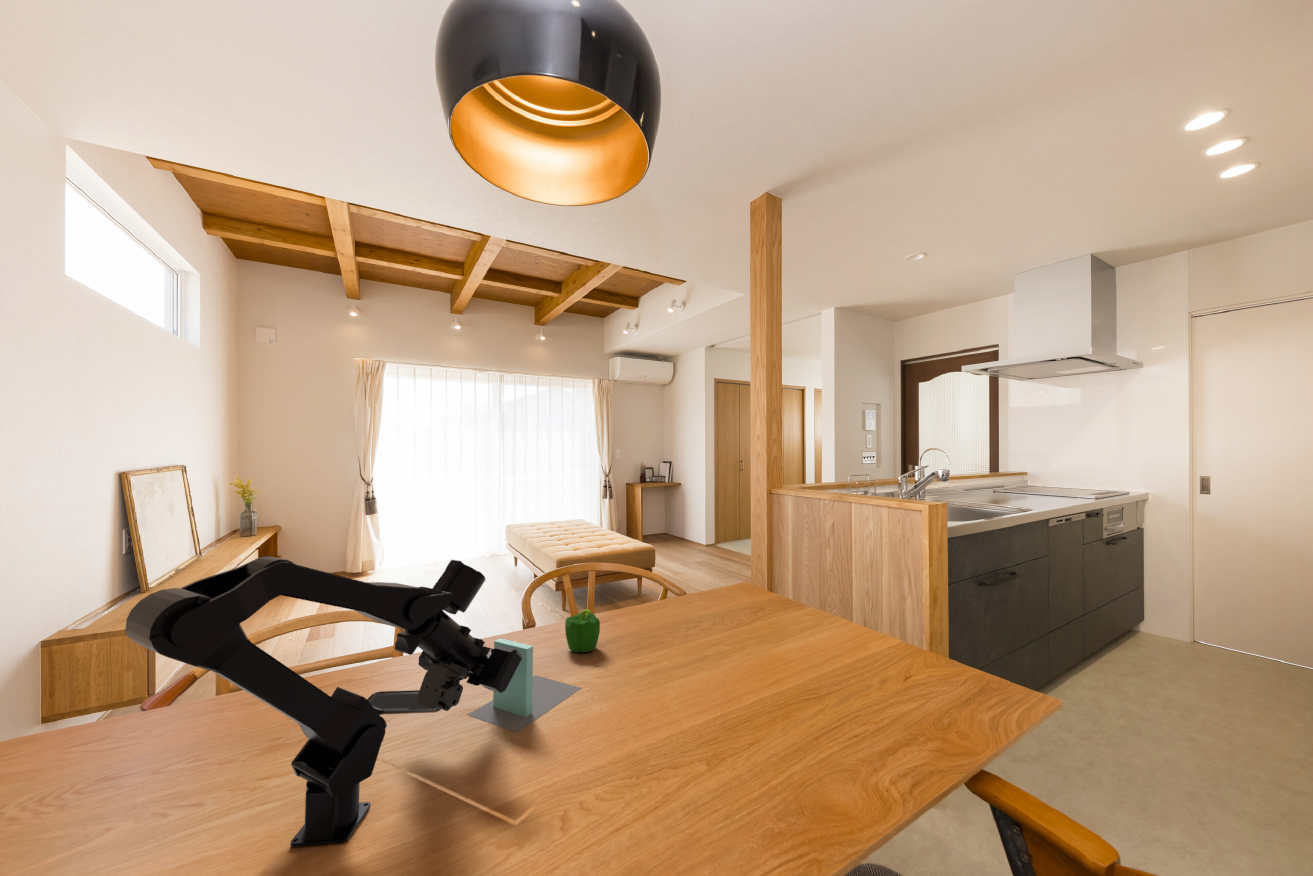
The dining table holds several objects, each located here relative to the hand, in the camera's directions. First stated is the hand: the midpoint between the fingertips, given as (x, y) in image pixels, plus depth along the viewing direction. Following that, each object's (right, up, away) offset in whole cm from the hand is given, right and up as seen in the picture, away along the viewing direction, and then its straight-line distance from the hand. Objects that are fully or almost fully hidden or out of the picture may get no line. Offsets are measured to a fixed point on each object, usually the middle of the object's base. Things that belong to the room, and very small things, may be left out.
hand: (495, 681), depth 86 cm
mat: (+4, -8, +7) cm, 11 cm away
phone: (-19, -8, +6) cm, 22 cm away
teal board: (+2, -7, +4) cm, 8 cm away
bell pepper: (+10, -9, +33) cm, 35 cm away
